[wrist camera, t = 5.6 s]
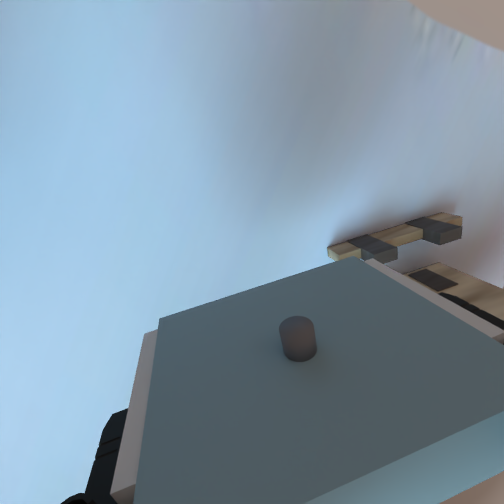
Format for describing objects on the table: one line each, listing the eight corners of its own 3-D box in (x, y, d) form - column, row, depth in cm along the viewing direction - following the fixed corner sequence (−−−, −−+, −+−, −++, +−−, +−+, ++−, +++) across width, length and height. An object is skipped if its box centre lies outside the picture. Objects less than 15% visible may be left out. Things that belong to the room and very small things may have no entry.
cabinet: (325, 247, 27) (428, 314, 15) (443, 211, 29) (615, 246, 17) (339, 358, 33) (421, 469, 21) (436, 322, 35) (562, 406, 23)
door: (152, 302, 13) (98, 565, 5) (352, 239, 14) (577, 352, 6) (178, 361, 14) (173, 637, 6) (356, 299, 16) (540, 453, 8)
